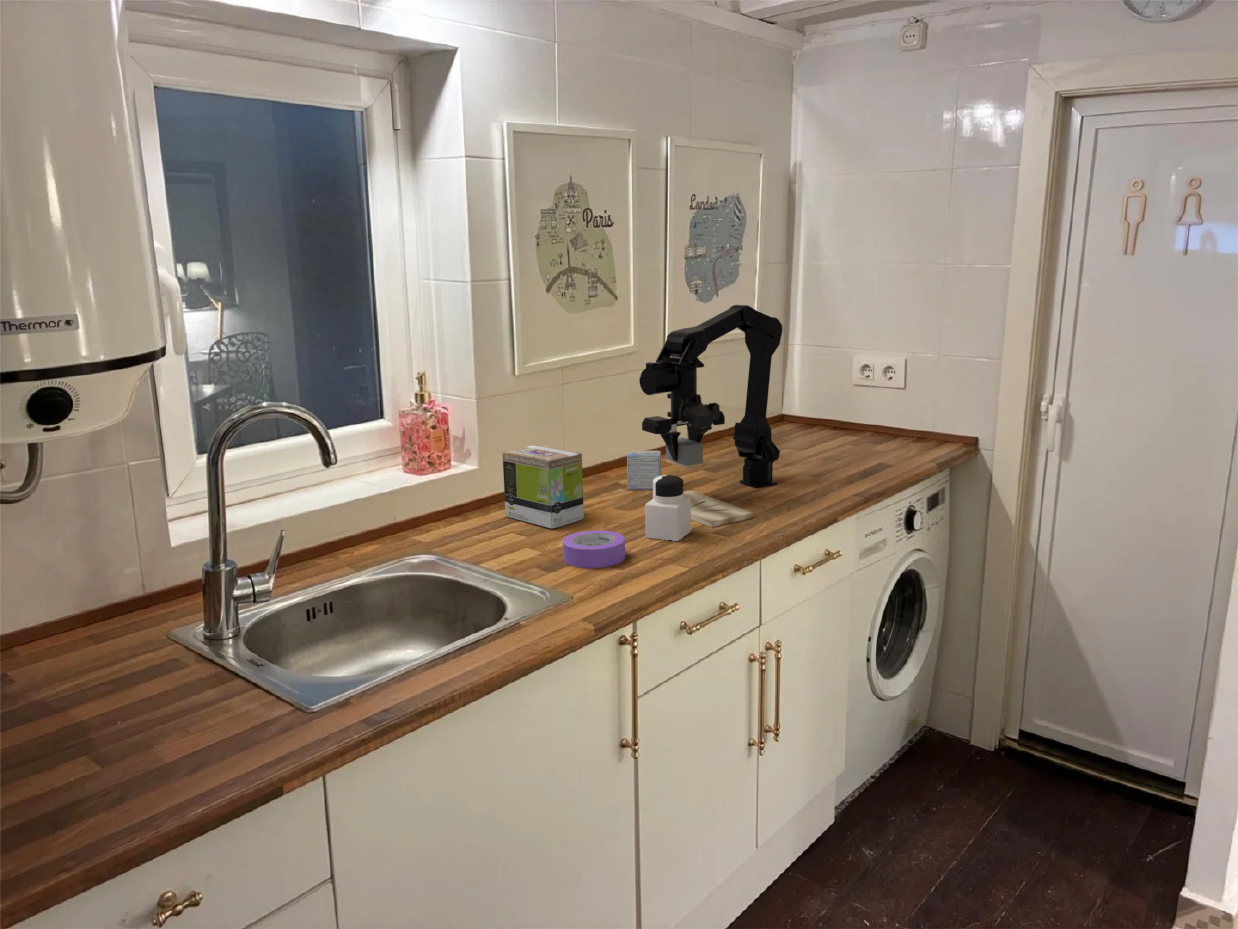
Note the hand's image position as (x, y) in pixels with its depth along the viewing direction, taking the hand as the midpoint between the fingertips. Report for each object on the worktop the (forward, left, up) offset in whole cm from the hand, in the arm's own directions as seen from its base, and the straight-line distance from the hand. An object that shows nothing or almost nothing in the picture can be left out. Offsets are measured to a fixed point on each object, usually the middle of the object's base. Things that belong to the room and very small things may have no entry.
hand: (684, 459), depth 209 cm
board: (+1, +7, -10) cm, 12 cm away
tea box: (+31, -8, -10) cm, 34 cm away
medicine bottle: (+16, +17, -10) cm, 26 cm away
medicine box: (0, -16, -10) cm, 19 cm away
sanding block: (0, 0, -1) cm, 1 cm away
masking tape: (+35, +20, -10) cm, 42 cm away
